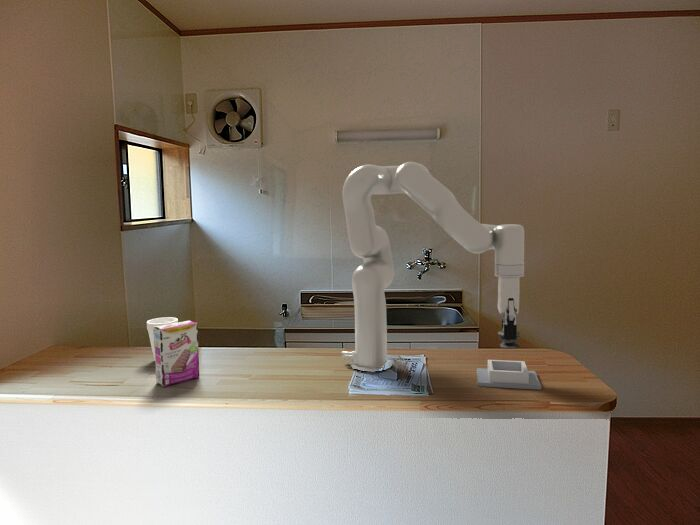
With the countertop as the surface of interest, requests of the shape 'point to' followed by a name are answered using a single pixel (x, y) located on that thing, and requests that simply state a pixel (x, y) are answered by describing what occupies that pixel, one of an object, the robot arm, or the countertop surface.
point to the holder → (507, 375)
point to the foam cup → (158, 322)
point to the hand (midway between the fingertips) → (509, 335)
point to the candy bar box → (176, 352)
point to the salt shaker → (506, 343)
